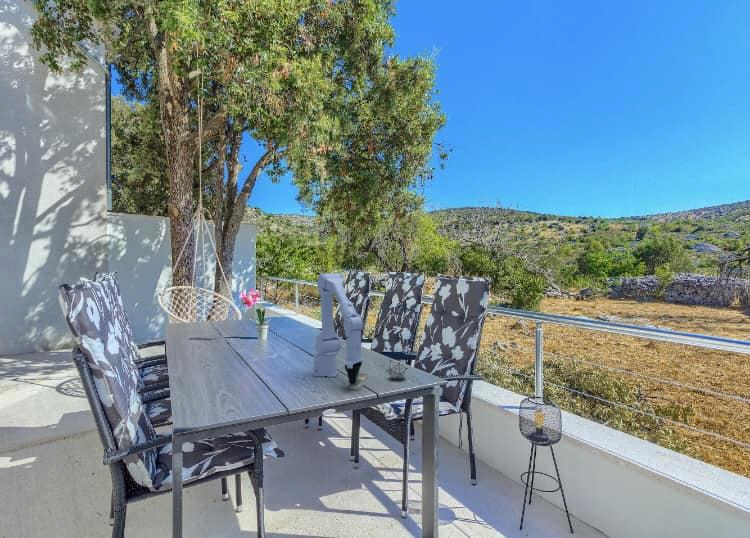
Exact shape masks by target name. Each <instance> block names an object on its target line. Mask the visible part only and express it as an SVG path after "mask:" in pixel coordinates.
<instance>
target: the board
mask: <svg viewBox="0 0 750 538" xmlns="http://www.w3.org/2000/svg"><path fill="white" fill-rule="evenodd" d="M367 376H369V375H368V373H360V372H359V374H358V379H357V385H350V382H349V380H347V382H346V384H345V385H344V389H346V390H361V389H362V387H363V385H364V384H365V382H366V380H367V378H368V377H367ZM365 379H366V380H365ZM364 381H365V382H364ZM363 383H364V384H363Z"/></svg>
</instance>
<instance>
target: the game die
mask: <svg viewBox="0 0 750 538" xmlns="http://www.w3.org/2000/svg"><path fill="white" fill-rule="evenodd" d="M389 362H390V363H389V366H388V368H387V369H386V370H385V373H386V372H387V374H389V376H390V377H391V378H392V379H391V380H392V381H394V379H396V380H397V379H402V380H405V378H404V376H405V373H406V372H407V370H408V369H409V367H406V366H405V364H404V363H403V362H402V358H401V359H400V360H393V361H392V360H391V359H389Z"/></svg>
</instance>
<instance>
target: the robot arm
mask: <svg viewBox="0 0 750 538" xmlns="http://www.w3.org/2000/svg"><path fill="white" fill-rule="evenodd" d="M316 283H317V290H318V291H317V292H318V293H319V294H320V310H321V313H320V314H321V332H320V333H319V334H318V335H317V336H316V339H315V340H316V341H315V351H316V353H315V355H314V356H313V357H314V358H313V377H325V376H327V377H329V378H335V377H337V375H338V374H339V373H340V371H339V370H337V355H338V354H339V352H340V351H341V347H342V345H341V340H340V336H339V334H338V333H337V332H335V329H334V328H335V327H334V326H335V324H334V307H333V306H334V305H333V304H334V303H333V302H334V301H333V295H334V297H336V299H337V301H338V303H339V306H338V309H339V312H340V314H341V317H342V319H343V329H344V336H346V337H345V338H346V339H345V340H346V341H345V343H346V345H345V346H346V348H345V357H346V358H345V362H346V364H345V365H344V369H345V371H346V373H347V378H348V381H349V382H350V384H355V383H356V377H357V379H358V374H359V373H360V368H361V367H362V364H363V362H364V361H365V359H364V357H363V358H362V331H363V329H364V328H365V322H364V321H365V320H364V318H363V316H361V315H360V314H359V313H358V312H357V310H356V309H355V306H354V305H353V302H352V301H351V300H349V299H348V297H347V294H346V290H345V288H344V284H345V279H344V275H343V273H341V272H338V273H323V272H322V273H320V274H318V278H317V282H316Z"/></svg>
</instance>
